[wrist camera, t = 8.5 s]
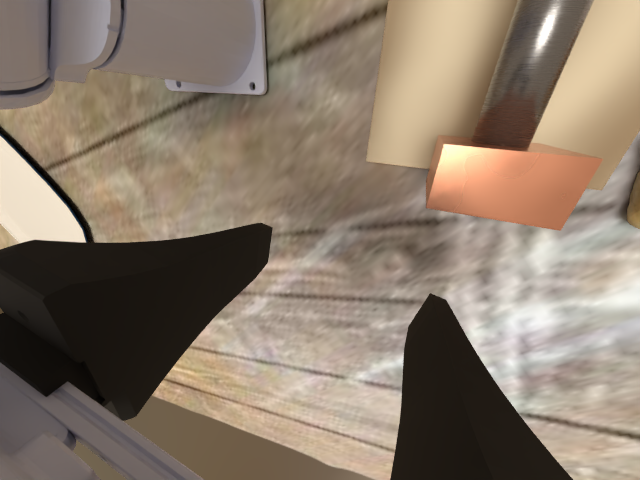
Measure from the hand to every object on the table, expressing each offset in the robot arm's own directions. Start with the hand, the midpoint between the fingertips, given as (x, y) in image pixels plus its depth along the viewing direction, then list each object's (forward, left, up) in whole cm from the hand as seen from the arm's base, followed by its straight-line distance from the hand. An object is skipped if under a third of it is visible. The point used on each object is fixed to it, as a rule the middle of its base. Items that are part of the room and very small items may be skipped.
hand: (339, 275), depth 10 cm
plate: (-56, -11, -10) cm, 58 cm away
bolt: (+5, +8, -7) cm, 12 cm away
